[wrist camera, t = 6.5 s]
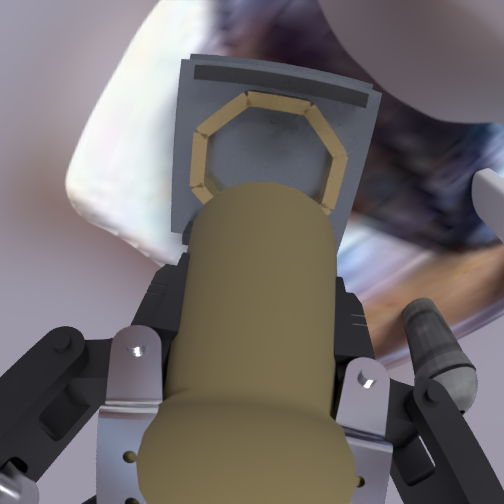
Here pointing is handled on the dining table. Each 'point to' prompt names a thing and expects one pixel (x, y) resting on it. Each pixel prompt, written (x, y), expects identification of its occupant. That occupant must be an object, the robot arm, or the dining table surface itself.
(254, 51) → the dining table surface
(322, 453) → the cork
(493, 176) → the eye dropper bottle
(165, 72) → the dining table surface
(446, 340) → the beverage cup
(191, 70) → the grey peg socket base
